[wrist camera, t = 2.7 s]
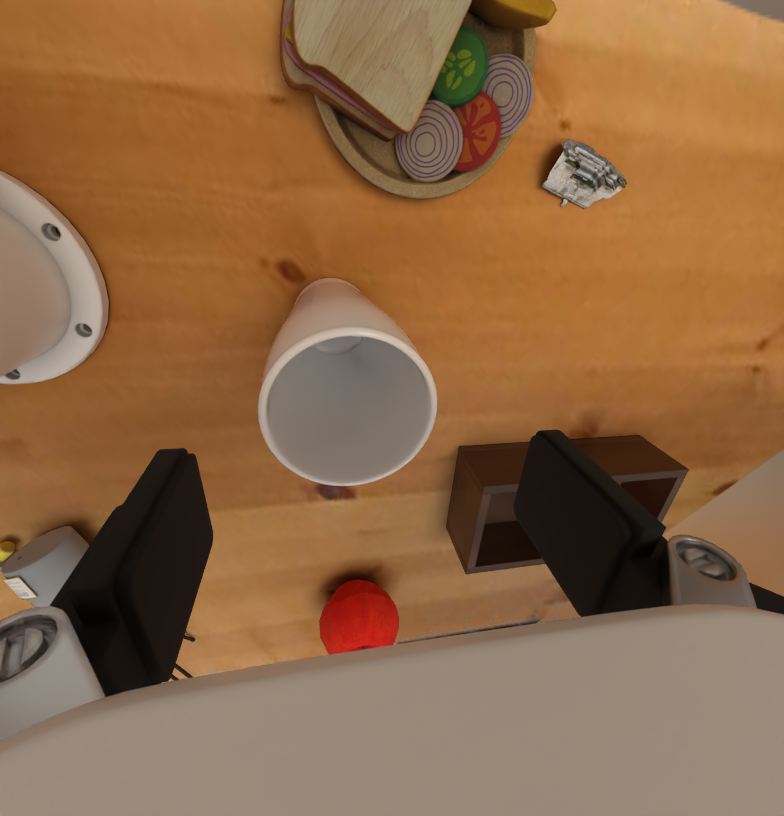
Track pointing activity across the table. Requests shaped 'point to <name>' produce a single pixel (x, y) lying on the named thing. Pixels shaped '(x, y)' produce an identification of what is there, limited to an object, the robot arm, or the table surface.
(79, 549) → the reed diffuser
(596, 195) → the silver ridged wedge
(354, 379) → the tall white cup
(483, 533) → the divided wooden box
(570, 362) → the table surface
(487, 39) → the toy sandwich meal
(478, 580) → the table surface
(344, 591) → the apple
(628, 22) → the table surface
